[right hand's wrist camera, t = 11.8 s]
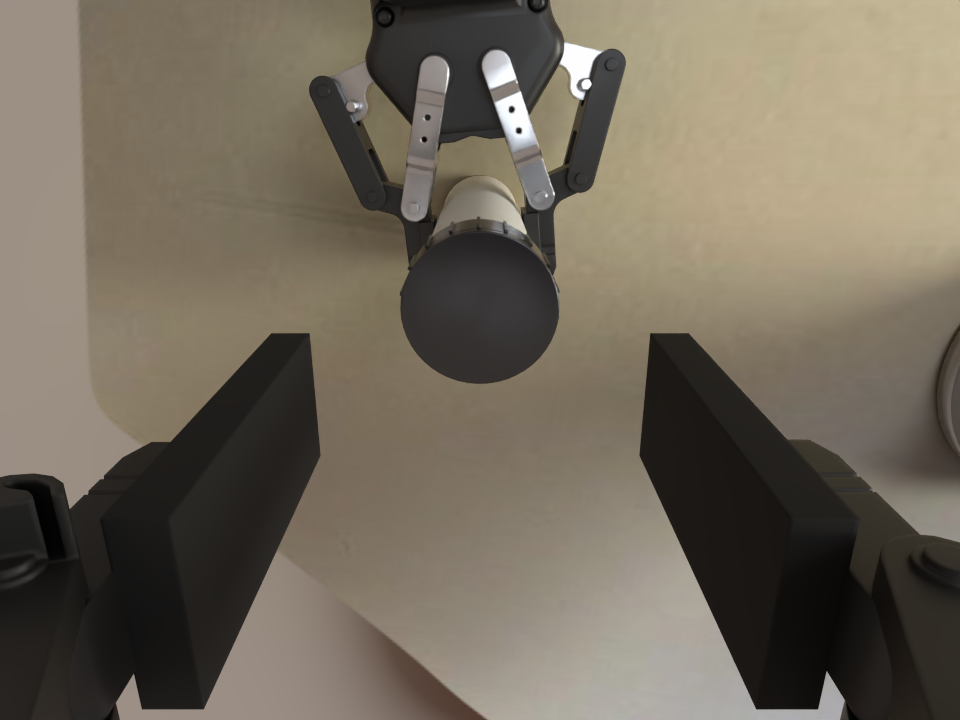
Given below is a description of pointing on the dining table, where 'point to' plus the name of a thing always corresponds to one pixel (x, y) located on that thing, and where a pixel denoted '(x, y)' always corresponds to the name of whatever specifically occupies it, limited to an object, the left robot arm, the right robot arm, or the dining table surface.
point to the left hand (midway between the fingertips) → (485, 289)
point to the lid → (479, 301)
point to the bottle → (480, 203)
